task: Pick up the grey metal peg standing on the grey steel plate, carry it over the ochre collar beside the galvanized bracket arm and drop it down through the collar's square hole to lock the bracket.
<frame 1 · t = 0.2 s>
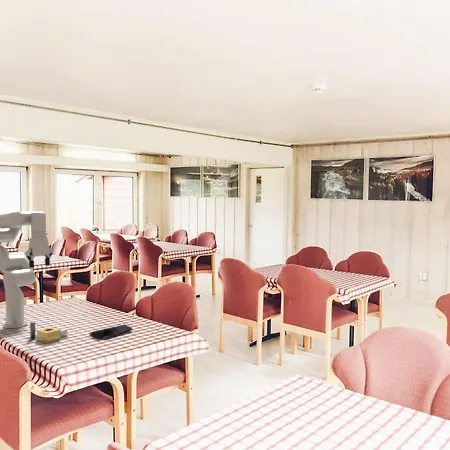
hand: (39, 266, 261), 36 cm above the table, tool pointing down, fingers open, 9 cm apart
grey metal peg: (33, 338, 248), point 1 cm above the table, touching square hole fixture
square hole fixture: (48, 340, 249), on the table
dark slate chunk: (111, 334, 262), on the table
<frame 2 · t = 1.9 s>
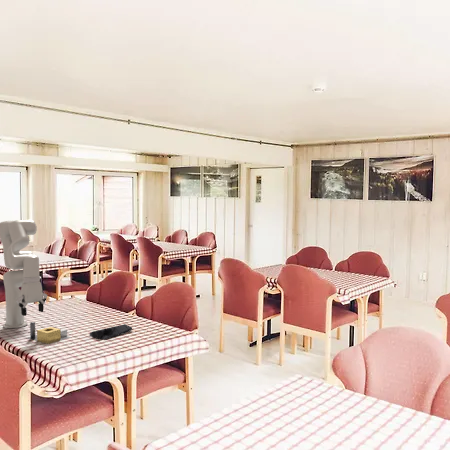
hand: (32, 313, 247), 14 cm above the table, tool pointing down, fingers open, 9 cm apart
nothing on the table moved.
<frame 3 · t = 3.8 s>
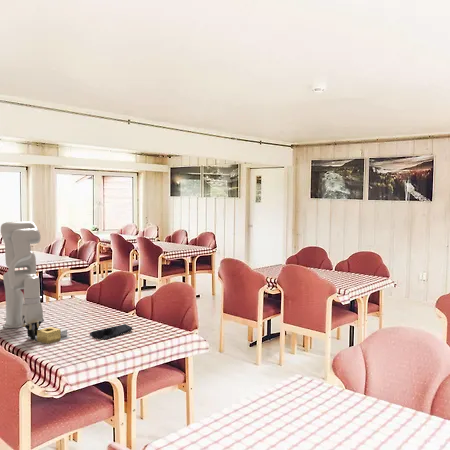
hand: (32, 335, 248), 3 cm above the table, tool pointing down, fingers closed on grey metal peg, 2 cm apart
grey metal peg: (33, 338, 248), point 2 cm above the table, touching gripper, square hole fixture
everything else where it was.
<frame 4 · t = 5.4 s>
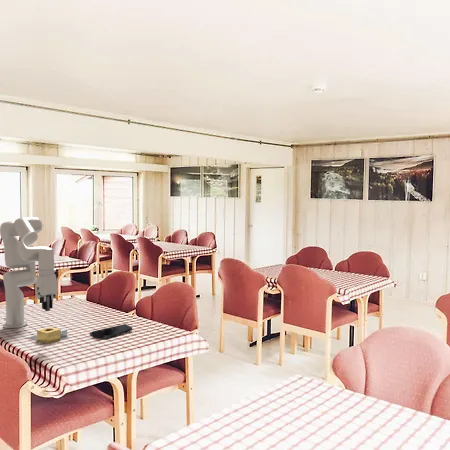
hand: (47, 308, 245), 18 cm above the table, tool pointing down, fingers closed on grey metal peg, 2 cm apart
grey metal peg: (47, 310, 245), point 16 cm above the table, touching gripper
everything else where it was.
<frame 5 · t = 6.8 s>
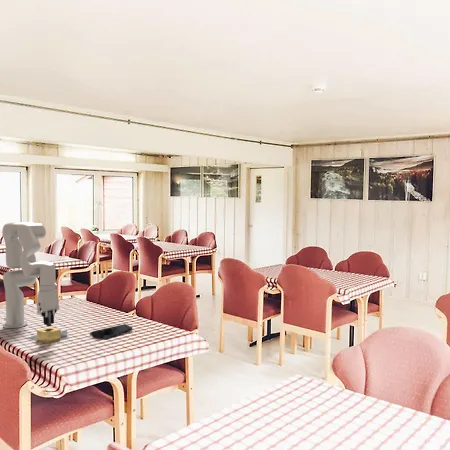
hand: (48, 323, 245), 10 cm above the table, tool pointing down, fingers closed on grey metal peg, 2 cm apart
grey metal peg: (48, 325, 245), point 9 cm above the table, touching gripper
everything else where it was.
when the fingers open (7 cm above the table, at t = 7.5 s): grey metal peg drops 4 cm, resting on square hole fixture.
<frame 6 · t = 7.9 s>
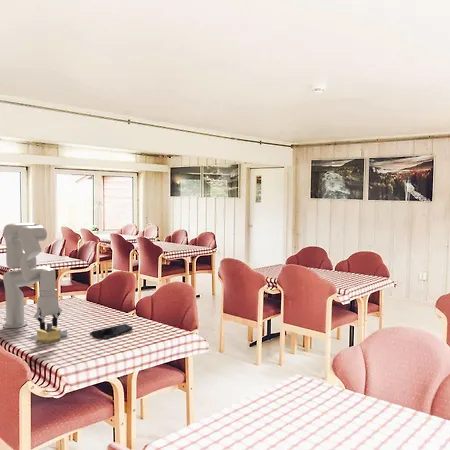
hand: (48, 327, 245), 8 cm above the table, tool pointing down, fingers open, 6 cm apart
grey metal peg: (49, 339, 246), point 2 cm above the table, touching square hole fixture
everything else where it was.
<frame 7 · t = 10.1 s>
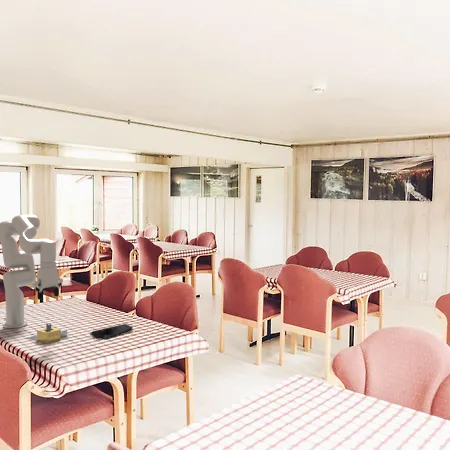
hand: (48, 297, 249), 22 cm above the table, tool pointing down, fingers open, 9 cm apart
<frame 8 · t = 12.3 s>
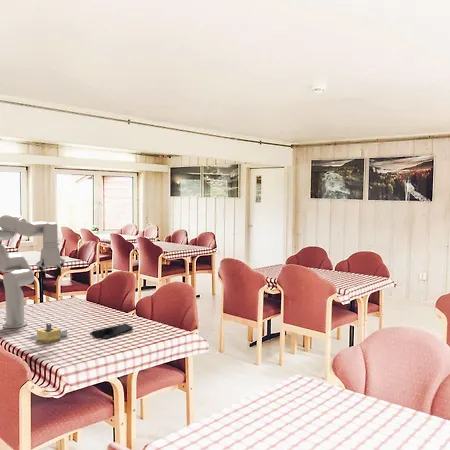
hand: (51, 276, 263), 30 cm above the table, tool pointing down, fingers open, 9 cm apart
at the end: grey metal peg 0.1 cm from the target spot on the square hole fixture, point 1.5 cm above the square hole fixture's base; grey metal peg tilted 1°; the gripper is holding nothing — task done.
